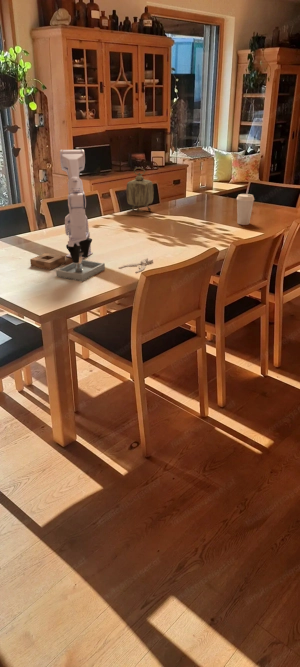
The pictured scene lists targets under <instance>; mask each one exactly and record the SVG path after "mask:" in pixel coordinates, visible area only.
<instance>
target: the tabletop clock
mask: <svg viewBox="0 0 300 667" xmlns="http://www.w3.org/2000/svg"><path fill="white" fill-rule="evenodd" d="M137 169H138V170H142V171H143V173H141V172H138V173H137V172H136V170H137ZM133 173H134V174H135V175H136V176H135V179H133V180H130V181H128V182H127V183H126V193H125V194H126V201H127V202H126V203H127V204H128V205H130V206H132V207H131V209H132V210H134V209H135V207H137V209H136V212H137V213H139V212H140V207H147V210H148V211H152V210H151V207H150V206H149V205H151V204H153V201H154V195H155V194H154V193H155V192H154V190H155V189H154V183H153V181H151V180H149V179H145V178H144V177H143V175H145V173H146V170H145V169H144V168H143V167H140V166H138V167H134V169H133Z"/></svg>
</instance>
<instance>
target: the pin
mask: <svg viewBox="0 0 300 667" xmlns="http://www.w3.org/2000/svg"><path fill="white" fill-rule="evenodd" d="M82 255H84V252H83V251H80V253H79V263H75V272H78V273H80V272H83V267H82V260H83V258H82Z"/></svg>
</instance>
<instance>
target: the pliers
mask: <svg viewBox="0 0 300 667" xmlns="http://www.w3.org/2000/svg"><path fill="white" fill-rule="evenodd" d="M152 263H154V259H150V260H149V258H148V257H146V258H143V259H142V260H140V262H137V263H128V264H124V265H121V266H119V267H118V269H122V268H126V267H127V268H128V267H130V268H131V267H133V268H134V267H137V266H138V269H139V270H137V271H135V274H139V273H140V272H142V271H144V270H145V269H146V266H147V265H150V264H152ZM140 266H141V267H140Z"/></svg>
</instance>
